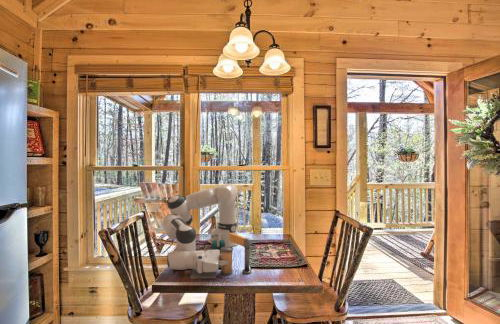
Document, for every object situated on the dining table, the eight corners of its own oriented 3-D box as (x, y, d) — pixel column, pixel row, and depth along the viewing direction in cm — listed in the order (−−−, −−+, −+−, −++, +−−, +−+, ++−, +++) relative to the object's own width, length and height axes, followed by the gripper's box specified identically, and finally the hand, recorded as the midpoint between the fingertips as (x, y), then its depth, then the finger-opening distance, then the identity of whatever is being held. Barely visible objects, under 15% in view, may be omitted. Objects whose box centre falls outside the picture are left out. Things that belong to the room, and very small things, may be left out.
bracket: (211, 252, 169) (211, 239, 169) (222, 251, 171) (223, 238, 171) (216, 263, 152) (216, 248, 152) (228, 262, 154) (228, 247, 154)
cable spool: (218, 272, 139) (218, 248, 139) (227, 269, 144) (227, 245, 143) (225, 276, 135) (225, 251, 135) (235, 272, 139) (235, 248, 139)
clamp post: (240, 272, 140) (240, 247, 140) (247, 269, 143) (247, 245, 143) (246, 274, 137) (246, 249, 137) (253, 272, 140) (253, 247, 140)
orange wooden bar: (251, 247, 140) (251, 239, 139) (246, 248, 137) (246, 240, 137) (232, 239, 151) (232, 232, 151) (227, 241, 149) (228, 233, 149)
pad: (190, 278, 132) (190, 277, 132) (193, 268, 144) (193, 267, 144) (215, 278, 133) (215, 276, 133) (217, 267, 145) (217, 266, 145)
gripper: (202, 258, 149) (228, 258, 150) (197, 274, 128) (228, 274, 129) (202, 246, 149) (228, 246, 150) (197, 261, 128) (228, 260, 129)
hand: (228, 259), depth 139 cm, fingers closed on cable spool, 5 cm apart
